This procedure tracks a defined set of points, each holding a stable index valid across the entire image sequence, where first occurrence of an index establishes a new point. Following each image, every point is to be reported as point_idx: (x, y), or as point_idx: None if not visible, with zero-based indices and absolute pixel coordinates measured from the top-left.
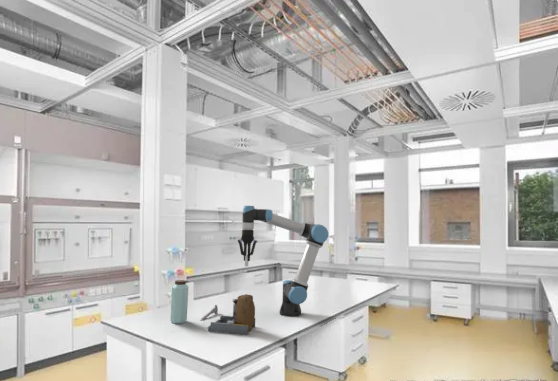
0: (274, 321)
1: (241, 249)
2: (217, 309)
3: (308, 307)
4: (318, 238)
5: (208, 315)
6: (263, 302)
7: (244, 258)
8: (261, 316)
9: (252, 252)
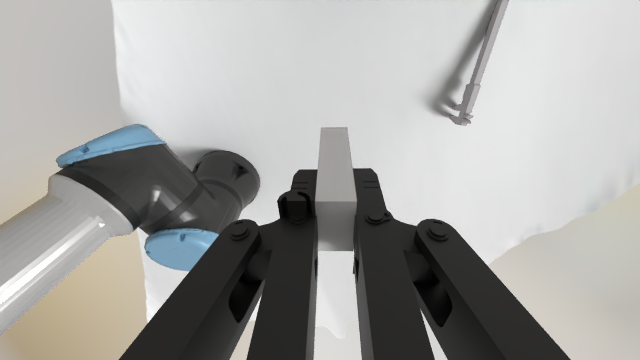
0: (234, 84)
1: (500, 329)
2: (454, 121)
3: None
4: None
5: (481, 50)
6: (337, 253)
7: (368, 188)
8: (296, 128)
9: (196, 264)
